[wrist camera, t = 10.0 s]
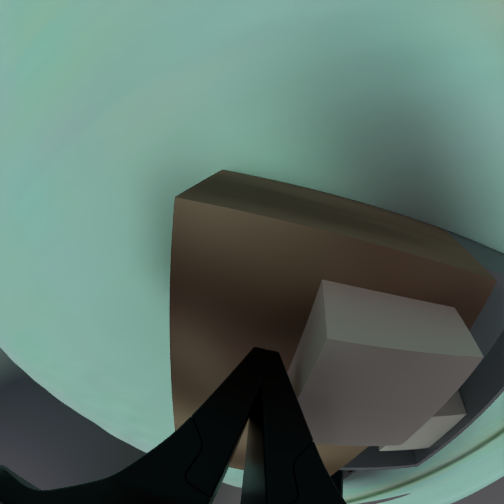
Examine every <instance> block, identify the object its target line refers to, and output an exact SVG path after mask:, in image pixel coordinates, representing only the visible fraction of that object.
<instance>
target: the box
mask: <svg viewBox="0 0 504 504" xmlns="http://www.w3.org/2000/svg"><path fill="white" fill-rule="evenodd" d="M445 231H446V230H445ZM446 232H447V233H448V234H450V235H451V236H452V237H453V238H454V239H455V240H456V241H457V242H459V243H460V244H461V245H462V246H463V247H464V248H465V249H466V250H467V251H468V252H469V253H470V254H471V255H472V256H473V257H474V258H475V259H476V260H477V261H478V262H479V263H480V264H481V265H482V266H483V267H484V268H485V269H486V270H487V271H488V272H489V273H490V274H491V275H492V276H493V277H494V278H495V279H496V280H497V283H496V285H495V287H494V288H493V290H492V292H491V294H490V296H489V298H488V300H487V302H486V303H485V305H484V307H483V309H482V310H481V312H480V314H479V315H478V317H477V319H476V320H475V322H474V324H473V325H472V327H471V328H470V330H469V332H470V333H471V335H472V337H473V338H474V340H475V342H476V344H477V345H478V347H479V349H480V351H481V353H482V355H483V356H484V357H483V359H482V360H481V361H480V363H479V364H478V365H477V367H476V368H475V369H474V371H473V372H472V373H471V374H470V376H469V377H468V378H467V379H466V380H465V382H464V383H463V384H462V385H461V386H460V388H459V389H458V391H459V394H460V396H461V399H462V402H463V405H464V408H465V410H466V413H467V414H466V415H465V416H464V417H463V418H462V419H461V420H460V421H459V422H458V423H457V424H456V425H455V426H454V427H452V428H451V429H450V430H449V431H448V432H447V433H446V434H445V435H443V436H442V437H441V438H440V439H439V440H437V441H436V442H435V443H434V444H433V445H431V446H430V447H429V448H421V449H410V450H394V451H379V446H368V447H367V448H366V449H365V450H363V451H362V452H361V453H360V454H359V455H357V456H356V457H355V458H354V459H352V460H351V461H350V462H349V463H347V464H346V465H345V466H343V467H342V468H341V469H339V470H381V469H396V468H407V467H416V466H419V465H420V464H422V463H423V462H424V461H426V460H427V459H429V458H430V457H431V456H433V455H434V454H436V453H437V452H438V451H439V450H441V449H442V448H443V447H445V446H446V445H447V444H448V443H450V442H451V441H452V440H453V439H455V438H456V437H457V436H458V435H459V434H460V433H462V432H463V431H464V430H465V429H466V428H467V427H468V426H469V425H471V424H472V423H473V422H474V421H475V420H476V419H477V418H478V417H479V416H480V415H481V414H482V413H483V412H484V411H485V410H486V409H487V408H488V407H489V406H490V405H491V404H492V403H493V402H494V401H495V400H496V399H497V398H498V397H499V396H500V394H501V393H502V392H503V391H504V254H503V253H501V252H499V251H496V250H494V249H492V248H489V247H487V246H485V245H482V244H480V243H477V242H475V241H472V240H470V239H467V238H465V237H462V236H460V235H457V234H454V233H452V232H449V231H446Z"/></svg>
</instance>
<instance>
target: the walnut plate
mask: <svg viewBox="0 0 504 504" xmlns="http://www.w3.org/2000/svg"><path fill="white" fill-rule="evenodd" d="M322 279H323V280H327V281H332V282H336V283H341V284H346V285H350V286H355V287H359V288H364V289H369V290H373V291H378V292H383V293H387V294H392V295H397V296H402V297H406V298H411V299H416V300H421V301H426V302H430V303H435V304H440V305H445V306H450V307H455V309H456V311H457V312H458V314H459V315H460V317H461V318H462V320H463V322H464V323H465V325H466V327H467V328H468V330H470V328H471V327H472V325H473V324H474V322H475V320H476V319H477V317H478V315H479V314H480V312H481V310H482V309H483V307H484V305H485V303H486V302H487V300H488V298H489V296H490V294H491V292H492V290H493V288H494V287H495V285H496V283H497V280H496V279H495V278H494V277H493V276H492V275H491V274H490V273H489V272H488V271H487V270H486V269H485V268H484V267H483V266H482V265H481V264H480V263H479V262H478V261H477V260H476V259H475V258H474V257H473V256H472V255H471V254H470V253H469V252H468V251H467V250H466V249H465V248H464V247H463V246H462V245H461V244H460V243H459V242H457V241H456V240H455V239H454V238H453V237H452V236H451V235H450V234H448V233H447V232H446V231H445V230H444V229H441V228H438V227H435V226H433V225H430V224H427V223H424V222H421V221H418V220H415V219H412V218H409V217H406V216H403V215H400V214H397V213H394V212H391V211H388V210H384V209H381V208H378V207H375V206H371V205H368V204H364V203H361V202H358V201H354V200H350V199H347V198H343V197H340V196H336V195H332V194H328V193H325V192H321V191H317V190H313V189H309V188H305V187H301V186H296V185H292V184H288V183H284V182H279V181H275V180H270V179H266V178H261V177H256V176H251V175H246V174H241V173H236V172H231V171H226V170H221V171H219V172H217V173H215V174H214V175H212V176H210V177H208V178H207V179H205V180H203V181H201V182H200V183H198V184H196V185H195V186H193V187H191V188H189V189H188V190H186V191H184V192H183V193H181V194H179V195H178V196H176V197H175V203H174V215H173V230H172V247H171V270H170V360H171V382H172V399H173V412H174V424H175V431H176V430H177V429H178V428H179V427H180V426H181V425H182V424H183V423H184V422H185V421H186V420H187V419H188V418H189V417H192V414H193V413H194V412H195V411H196V410H197V409H198V408H199V407H200V406H201V405H202V404H203V403H204V402H205V401H206V400H207V398H208V397H209V396H210V395H211V394H212V393H213V392H214V391H215V390H216V389H217V388H218V387H219V386H220V384H221V383H222V382H223V381H224V380H225V379H226V378H227V377H228V376H229V374H230V373H231V372H232V371H233V370H234V369H235V368H236V367H237V365H238V364H239V363H240V362H241V361H242V360H243V359H244V358H245V356H246V355H247V354H248V353H249V352H250V351H251V349H252V348H253V347H259V348H264V349H266V350H267V349H268V350H273V351H277V352H279V353H280V356H281V358H282V361H283V363H284V366H285V369H286V371H287V372H288V370H289V367H290V365H291V362H292V360H293V357H294V355H295V352H296V350H297V347H298V345H299V342H300V339H301V337H302V334H303V332H304V329H305V326H306V324H307V321H308V318H309V315H310V313H311V310H312V307H313V304H314V302H315V299H316V296H317V293H318V290H319V287H320V284H321V281H322ZM248 425H249V419H248V422H247V424H246V427H245V429H244V432H243V434H242V437H241V439H240V442H239V444H238V446H237V449H236V451H235V453H234V456H233V458H232V461H231V463H230V465H229V467H232V468H236V469H241V470H244V465H245V455H246V445H247V435H248ZM315 445H316V447H317V450H318V452H319V454H320V457H321V459H322V461H323V463H324V466H325V468H326V469H327V471H328V473H329V475H330V476H331V475H333V474H334V473H335V472H337V471H338V470H339V469H341V468H342V467H343V466H345V465H346V464H347V463H349V462H350V461H351V460H352V459H354V458H355V457H356V456H357V455H359V454H360V453H361V452H362V451H363V450H365V449H366V448H367V447H368V446H347V445H330V444H318V443H315Z"/></svg>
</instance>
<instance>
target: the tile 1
mask: <svg viewBox="0 0 504 504" xmlns="http://www.w3.org/2000/svg"><path fill="white" fill-rule="evenodd" d="M483 357H484V356H483V355H482V353H481V351H480V349H479V347H478V345H477V344H476V342H475V340H474V338H473V337H472V335H471V333H470V332H469V330H468V328H467V327H466V325H465V323H464V322H463V320H462V318H461V317H460V315H459V314H458V312H457V311H456V309H455V307H450V306H445V305H440V304H435V303H430V302H426V301H421V300H416V299H411V298H406V297H402V296H397V295H392V294H387V293H383V292H378V291H373V290H369V289H364V288H359V287H355V286H350V285H346V284H341V283H336V282H332V281H327V280H323V279H322V281H321V284H320V287H319V290H318V293H317V296H316V299H315V302H314V304H313V307H312V310H311V313H310V315H309V318H308V321H307V324H306V326H305V329H304V332H303V334H302V337H301V339H300V342H299V345H298V347H297V350H296V352H295V355H294V357H293V360H292V362H291V365H290V367H289V370H288V372H287V374H288V376H289V379H290V381H291V384H292V387H293V389H294V392H295V394H296V397H297V399H298V402H299V404H300V407H301V410H302V412H303V415H304V417H305V420H306V422H307V425H308V427H309V430H310V432H311V435H312V437H313V441H312V442H315V443H318V444H330V445H347V446H396V445H402V444H403V443H404V442H405V441H406V440H407V439H409V438H410V437H411V436H412V435H413V434H414V433H415V432H417V431H418V430H419V429H420V428H421V427H422V426H423V425H424V424H425V423H426V422H427V421H428V420H429V419H430V418H431V417H432V416H433V415H434V414H435V413H436V412H437V411H438V410H439V409H440V408H441V407H442V406H443V405H444V404H445V403H446V402H447V401H448V400H449V399H450V398H451V397H452V395H453V394H454V393H455V392H456V391H457V390H458V389H459V388H460V386H461V385H462V384H463V383H464V382H465V380H466V379H467V378H468V377H469V376H470V374H471V373H472V372H473V371H474V369H475V368H476V367H477V365H478V364H479V363H480V361H481V360H482V359H483Z"/></svg>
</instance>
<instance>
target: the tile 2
mask: <svg viewBox="0 0 504 504" xmlns="http://www.w3.org/2000/svg"><path fill="white" fill-rule="evenodd" d="M466 414H467V413H466V410H465V408H464V405H463V402H462V399H461V396H460V394H459V391H458V390H457V391H456V392H455V393H454V394H453V395H452V397H451V398H450V399H449V400H448V401H447V402H446V403H445V404H444V405H443V406H442V407H441V408H440V409H439V410H438V411H437V412H436V413H435V414H434V415H433V416H432V417H431V418H430V419H429V420H428V421H427V422H426V423H425V424H424V425H423V426H422V427H421V428H420V429H419V430H418V431H417V432H415V433H414V434H413V435H412V436H411V437H410V438H409V439H407V440H406V441H405V442H404V443H403V444H402V445H396V446H379V451H394V450H410V449H421V448H429V447H430V446H431V445H433V444H434V443H435V442H436V441H437V440H439V439H440V438H441V437H442V436H443V435H445V434H446V433H447V432H448V431H449V430H450V429H451V428H452V427H454V426H455V425H456V424H457V423H458V422H459V421H460V420H461V419H462V418H463V417H464V416H465V415H466Z"/></svg>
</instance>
